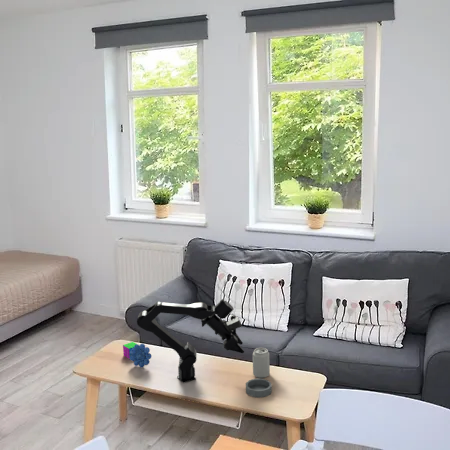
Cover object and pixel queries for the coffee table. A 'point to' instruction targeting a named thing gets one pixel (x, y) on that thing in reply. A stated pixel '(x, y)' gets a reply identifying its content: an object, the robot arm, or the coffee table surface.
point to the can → (261, 363)
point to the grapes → (140, 355)
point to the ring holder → (258, 388)
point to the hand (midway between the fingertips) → (242, 348)
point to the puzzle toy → (128, 349)
